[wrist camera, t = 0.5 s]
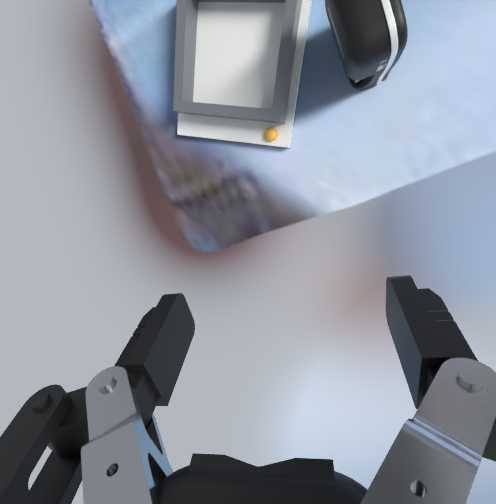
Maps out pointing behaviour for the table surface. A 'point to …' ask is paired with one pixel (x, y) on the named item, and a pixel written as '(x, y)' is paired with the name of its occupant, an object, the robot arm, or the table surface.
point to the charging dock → (239, 68)
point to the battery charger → (368, 37)
